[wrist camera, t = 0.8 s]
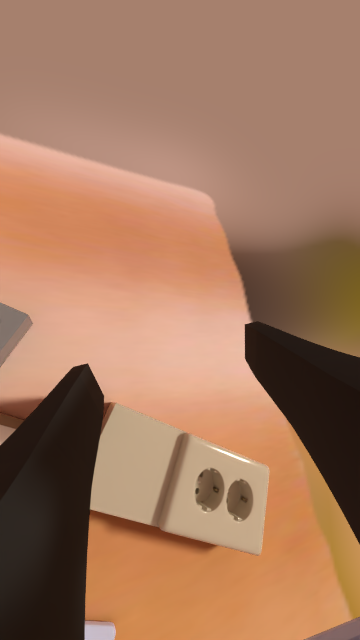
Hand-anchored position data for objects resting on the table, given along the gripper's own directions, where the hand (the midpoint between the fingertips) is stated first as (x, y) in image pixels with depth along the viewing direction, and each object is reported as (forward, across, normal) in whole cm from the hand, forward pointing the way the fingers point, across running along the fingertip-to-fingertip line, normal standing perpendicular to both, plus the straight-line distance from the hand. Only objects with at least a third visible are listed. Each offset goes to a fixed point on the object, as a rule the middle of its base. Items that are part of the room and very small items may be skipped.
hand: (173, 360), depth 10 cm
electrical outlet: (+4, +2, +18) cm, 18 cm away
